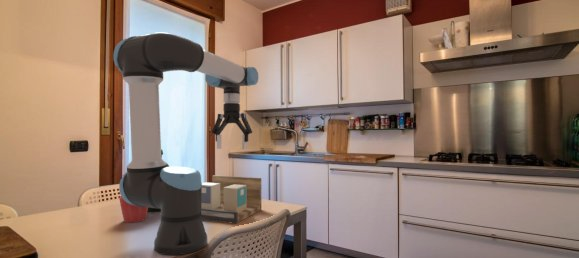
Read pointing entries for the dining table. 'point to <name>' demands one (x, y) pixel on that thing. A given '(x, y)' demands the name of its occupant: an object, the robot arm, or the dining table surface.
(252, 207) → the shelf
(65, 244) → the dining table surface
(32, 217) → the dining table surface
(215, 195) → the cream box
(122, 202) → the flower pot
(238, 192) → the tea box
